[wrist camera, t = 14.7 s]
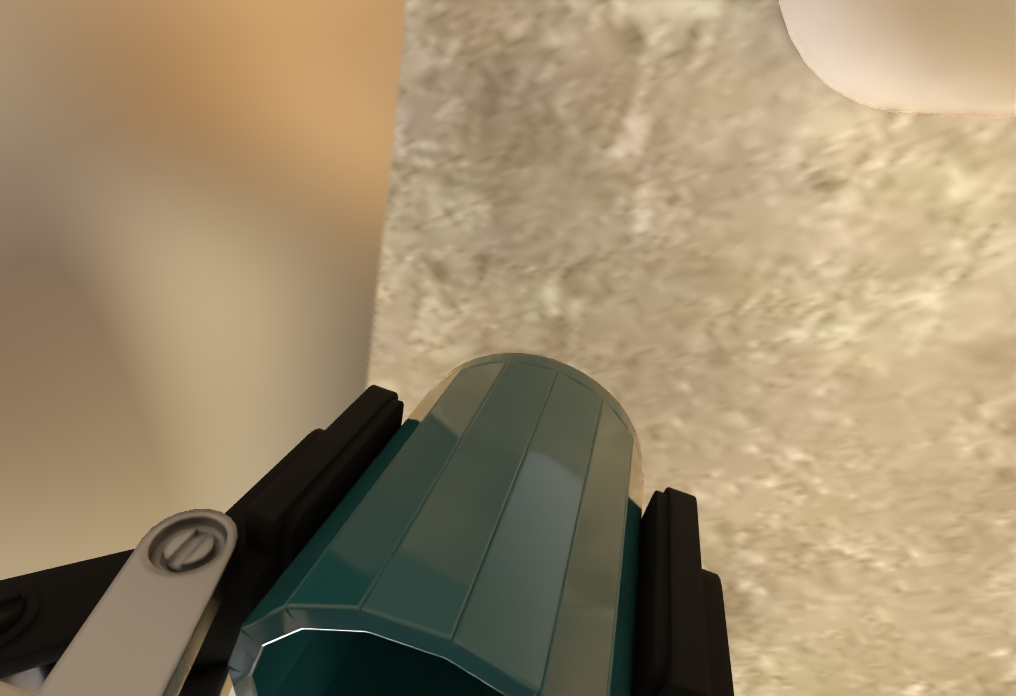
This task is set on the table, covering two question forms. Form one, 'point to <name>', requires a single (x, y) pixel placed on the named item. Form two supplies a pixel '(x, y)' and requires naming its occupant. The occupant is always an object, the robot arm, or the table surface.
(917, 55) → the pill bottle
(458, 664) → the cup
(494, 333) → the table surface
